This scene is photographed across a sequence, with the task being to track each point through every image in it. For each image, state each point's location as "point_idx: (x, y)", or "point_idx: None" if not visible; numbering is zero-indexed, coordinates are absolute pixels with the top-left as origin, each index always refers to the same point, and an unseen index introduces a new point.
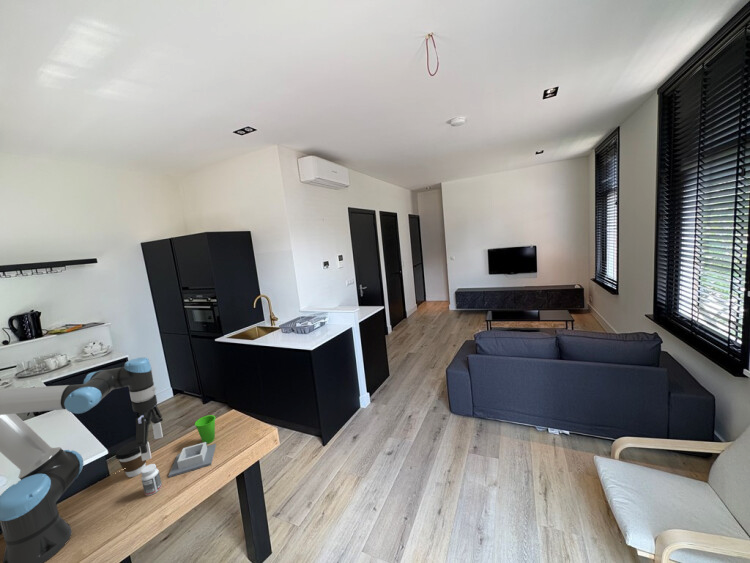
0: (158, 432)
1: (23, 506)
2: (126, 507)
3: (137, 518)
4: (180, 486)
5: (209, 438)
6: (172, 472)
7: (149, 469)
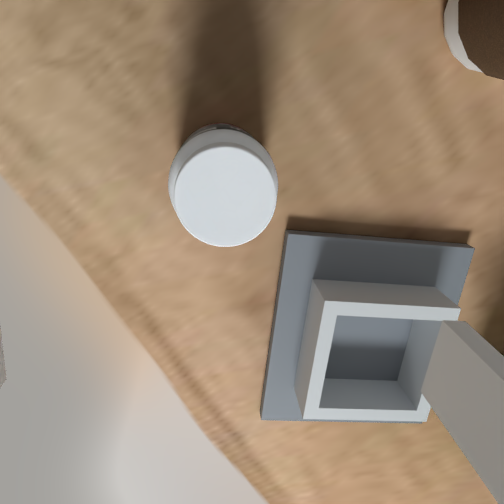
0: (475, 427)
1: None
2: (142, 38)
3: (12, 129)
4: (170, 299)
5: None
6: (304, 250)
7: (200, 210)
